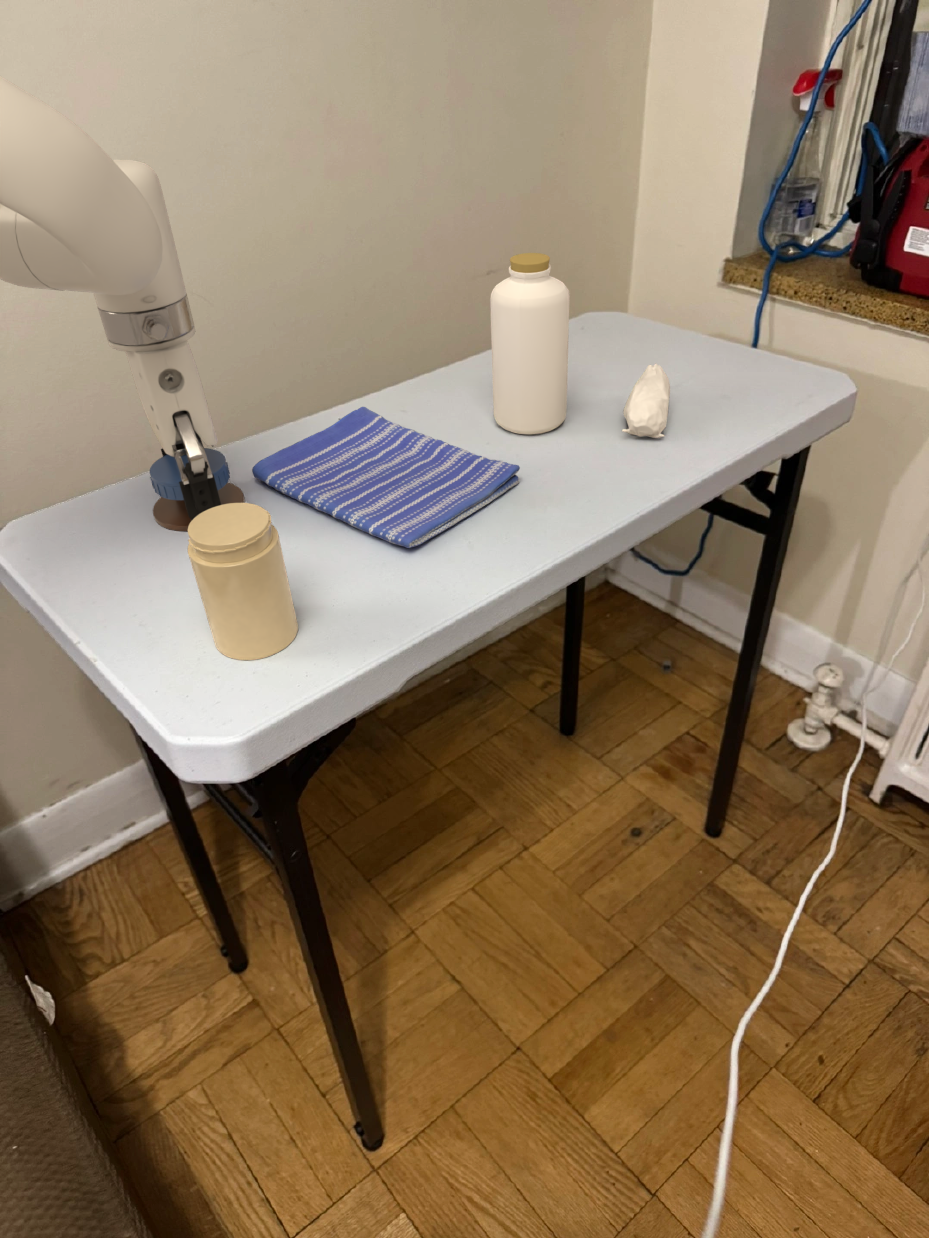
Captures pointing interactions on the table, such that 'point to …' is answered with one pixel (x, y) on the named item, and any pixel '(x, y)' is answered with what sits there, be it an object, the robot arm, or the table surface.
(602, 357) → the table surface
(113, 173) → the robot arm
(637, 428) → the bird figurine
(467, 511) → the dish towel
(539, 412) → the potion bottle
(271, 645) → the jar
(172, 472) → the lid
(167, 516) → the coaster
